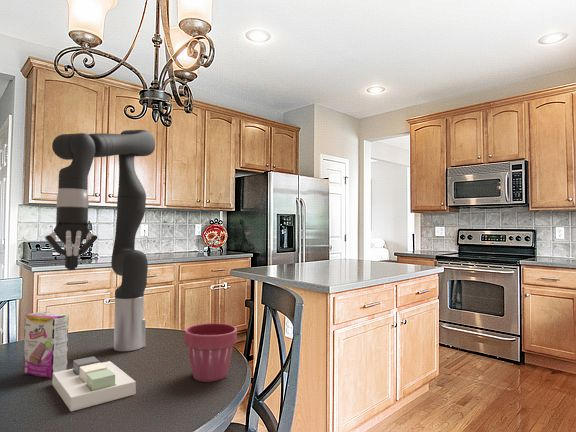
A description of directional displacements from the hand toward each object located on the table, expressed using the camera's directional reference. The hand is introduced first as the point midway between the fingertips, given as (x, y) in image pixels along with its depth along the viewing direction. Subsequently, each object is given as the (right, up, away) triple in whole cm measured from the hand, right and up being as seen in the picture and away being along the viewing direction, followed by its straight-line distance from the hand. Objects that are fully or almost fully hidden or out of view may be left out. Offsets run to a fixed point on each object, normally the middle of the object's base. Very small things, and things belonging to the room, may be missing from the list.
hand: (70, 269), depth 105 cm
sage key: (+14, -26, -13) cm, 32 cm away
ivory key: (+10, -26, -8) cm, 29 cm away
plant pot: (+38, -29, +1) cm, 48 cm away
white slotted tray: (+10, -29, -8) cm, 32 cm away
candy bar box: (-8, -29, +2) cm, 31 cm away
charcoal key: (+6, -26, -3) cm, 27 cm away
